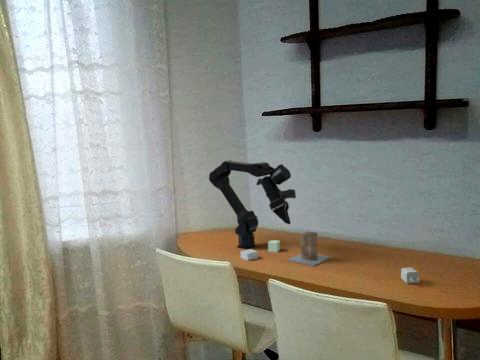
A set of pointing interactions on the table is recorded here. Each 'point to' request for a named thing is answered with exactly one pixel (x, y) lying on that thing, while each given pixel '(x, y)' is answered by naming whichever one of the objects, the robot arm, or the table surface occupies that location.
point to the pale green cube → (273, 246)
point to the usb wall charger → (409, 275)
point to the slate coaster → (309, 262)
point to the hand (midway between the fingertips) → (288, 223)
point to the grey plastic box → (249, 254)
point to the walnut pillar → (308, 245)
